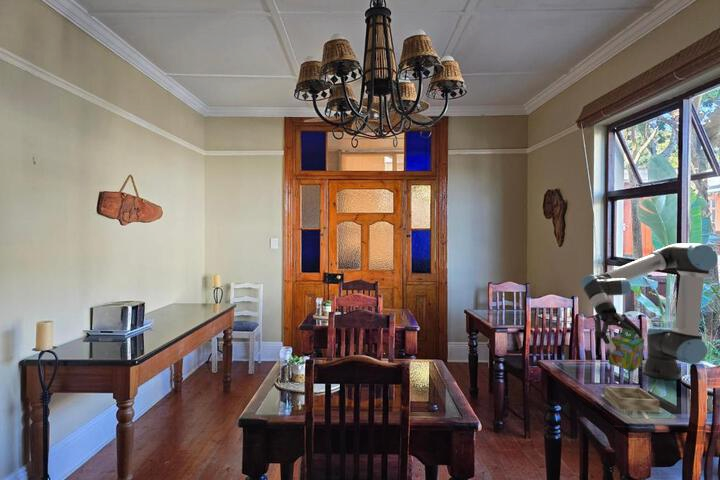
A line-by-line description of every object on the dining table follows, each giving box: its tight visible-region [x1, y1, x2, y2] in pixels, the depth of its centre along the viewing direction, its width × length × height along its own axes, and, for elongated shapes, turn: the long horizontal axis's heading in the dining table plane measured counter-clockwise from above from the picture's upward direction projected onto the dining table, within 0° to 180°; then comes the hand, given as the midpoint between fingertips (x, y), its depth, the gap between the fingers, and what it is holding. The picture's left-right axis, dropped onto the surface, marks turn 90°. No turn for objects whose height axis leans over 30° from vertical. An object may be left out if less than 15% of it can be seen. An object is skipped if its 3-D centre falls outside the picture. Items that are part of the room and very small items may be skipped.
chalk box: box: [608, 328, 645, 373], centre depth 171 cm, size 9×9×15 cm
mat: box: [600, 394, 664, 413], centre depth 170 cm, size 16×16×1 cm
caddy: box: [603, 385, 660, 411], centre depth 170 cm, size 14×14×4 cm
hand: (628, 350), depth 170 cm, fingers closed on chalk box, 12 cm apart
